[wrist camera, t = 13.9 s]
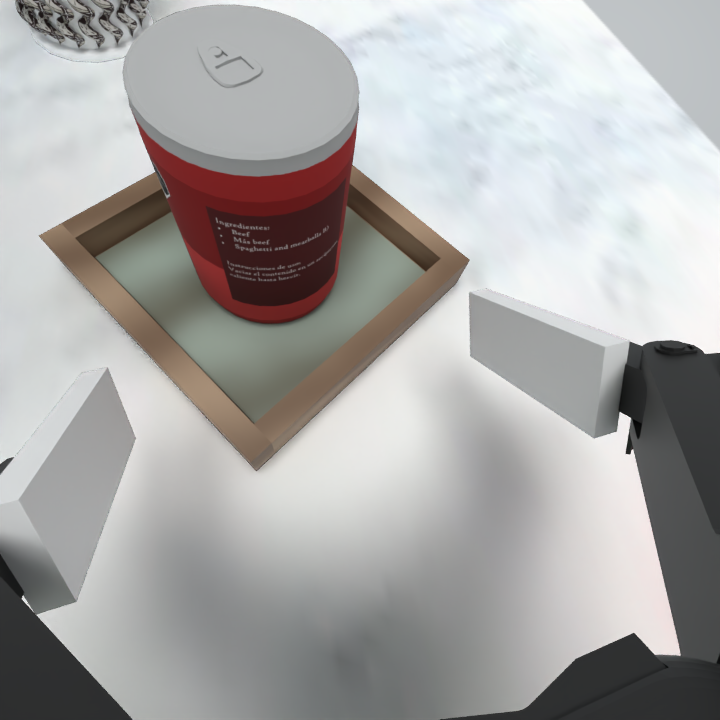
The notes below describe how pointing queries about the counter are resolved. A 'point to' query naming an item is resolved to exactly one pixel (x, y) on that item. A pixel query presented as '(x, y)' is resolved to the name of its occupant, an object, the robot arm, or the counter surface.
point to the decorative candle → (86, 26)
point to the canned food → (249, 150)
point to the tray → (247, 338)
